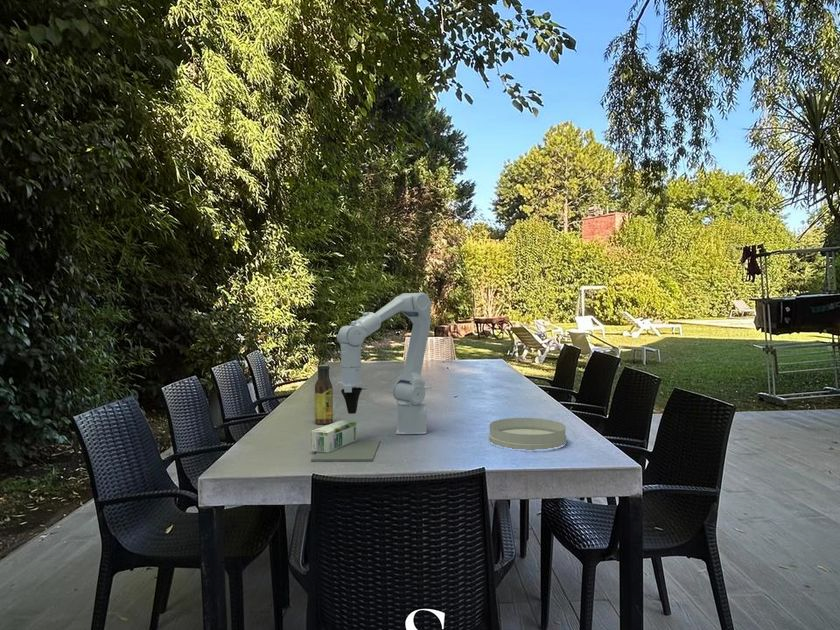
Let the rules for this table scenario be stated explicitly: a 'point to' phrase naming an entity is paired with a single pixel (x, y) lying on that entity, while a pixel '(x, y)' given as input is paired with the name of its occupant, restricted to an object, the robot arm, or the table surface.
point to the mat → (350, 453)
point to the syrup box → (333, 436)
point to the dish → (527, 433)
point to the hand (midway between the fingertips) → (352, 413)
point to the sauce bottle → (323, 396)
